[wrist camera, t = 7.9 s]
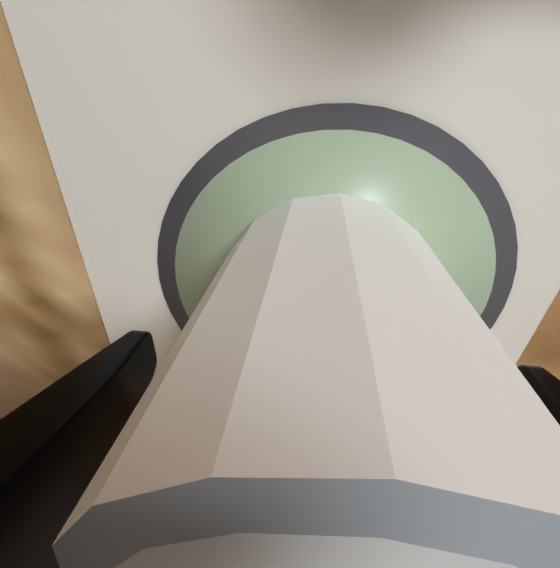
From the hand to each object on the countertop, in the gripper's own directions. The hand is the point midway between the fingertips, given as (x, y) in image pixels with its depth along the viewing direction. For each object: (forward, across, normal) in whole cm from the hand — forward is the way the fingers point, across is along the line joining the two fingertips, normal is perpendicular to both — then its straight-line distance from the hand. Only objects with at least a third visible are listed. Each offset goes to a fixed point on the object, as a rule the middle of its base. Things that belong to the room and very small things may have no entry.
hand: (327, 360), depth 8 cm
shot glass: (+3, 0, 0) cm, 3 cm away
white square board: (+3, 0, -1) cm, 3 cm away
